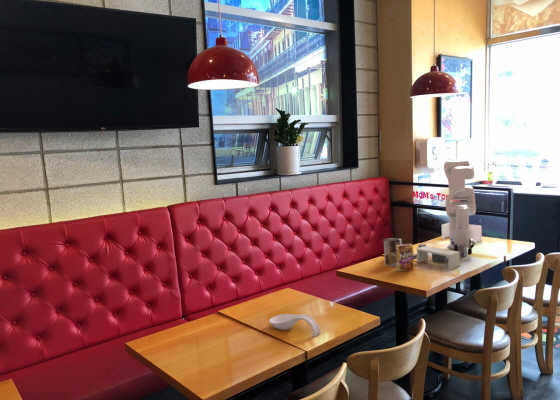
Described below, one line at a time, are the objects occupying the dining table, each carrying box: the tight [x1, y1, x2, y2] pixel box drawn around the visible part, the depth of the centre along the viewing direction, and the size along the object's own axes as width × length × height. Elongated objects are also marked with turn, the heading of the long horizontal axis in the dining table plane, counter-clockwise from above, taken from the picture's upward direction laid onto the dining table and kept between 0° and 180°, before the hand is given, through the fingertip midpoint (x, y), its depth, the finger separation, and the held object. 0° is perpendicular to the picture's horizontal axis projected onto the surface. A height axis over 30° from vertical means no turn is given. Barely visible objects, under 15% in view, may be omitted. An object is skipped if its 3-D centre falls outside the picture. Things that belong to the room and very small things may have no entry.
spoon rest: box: [268, 313, 322, 338], centre depth 185 cm, size 24×12×7 cm, turn 52°
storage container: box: [441, 222, 483, 243], centre depth 325 cm, size 25×11×11 cm, turn 38°
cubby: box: [416, 245, 461, 270], centre depth 266 cm, size 9×23×9 cm, turn 34°
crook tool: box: [431, 245, 468, 263], centre depth 278 cm, size 22×10×7 cm, turn 124°
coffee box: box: [383, 237, 400, 267], centre depth 271 cm, size 9×6×16 cm
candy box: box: [396, 243, 414, 272], centre depth 258 cm, size 9×4×15 cm, turn 92°
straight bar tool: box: [413, 243, 427, 260], centre depth 286 cm, size 16×4×7 cm, turn 124°
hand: (462, 253), depth 280 cm, fingers open, 9 cm apart
